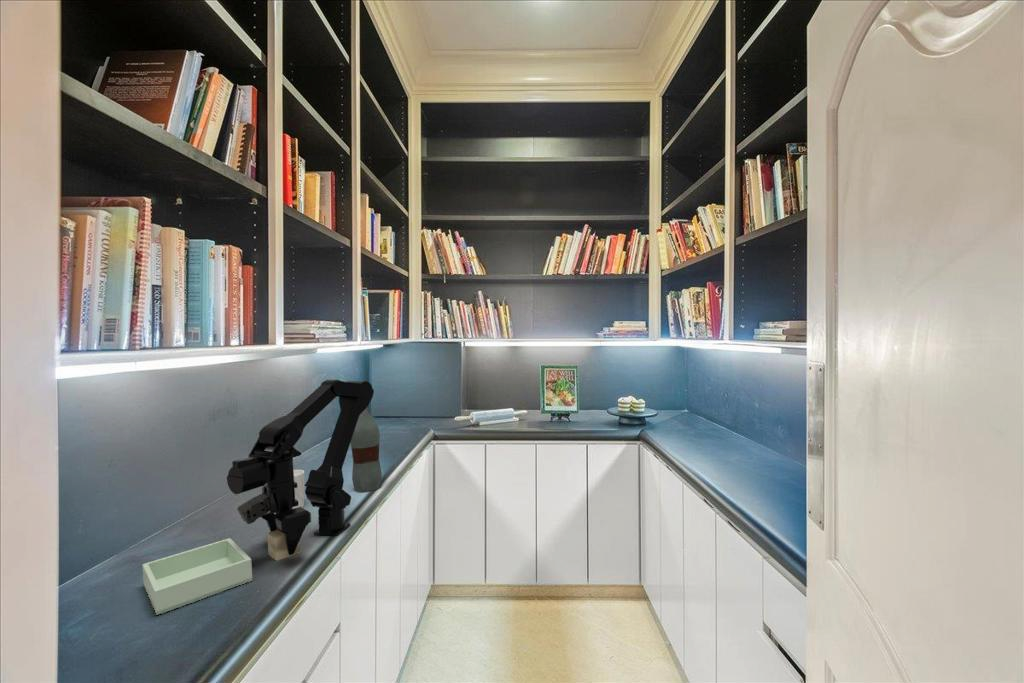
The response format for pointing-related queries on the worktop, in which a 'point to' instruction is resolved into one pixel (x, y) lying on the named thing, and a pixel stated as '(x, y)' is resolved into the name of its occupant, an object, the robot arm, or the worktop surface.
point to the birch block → (278, 545)
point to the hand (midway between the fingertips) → (283, 548)
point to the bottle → (366, 454)
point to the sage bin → (195, 574)
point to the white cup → (299, 487)
